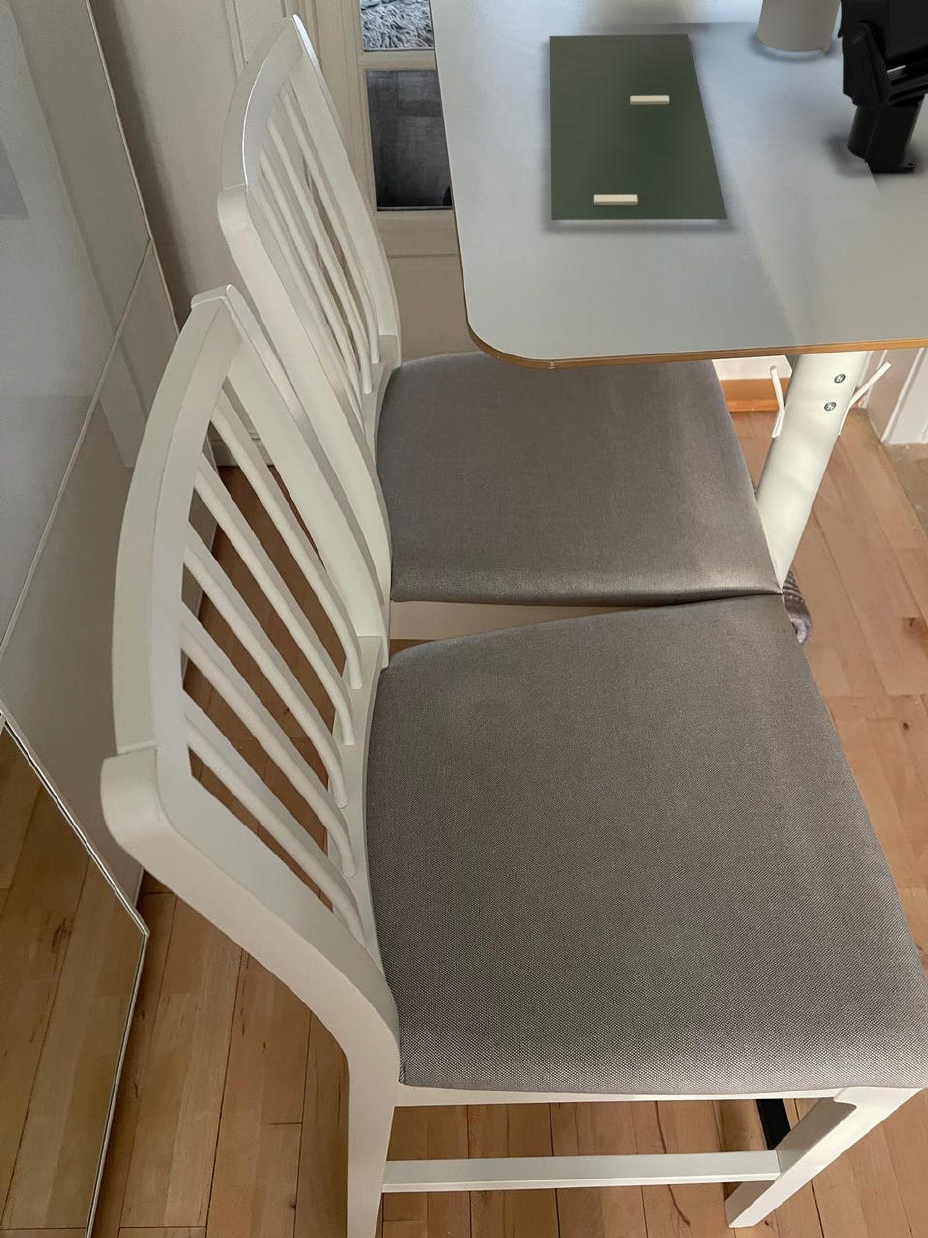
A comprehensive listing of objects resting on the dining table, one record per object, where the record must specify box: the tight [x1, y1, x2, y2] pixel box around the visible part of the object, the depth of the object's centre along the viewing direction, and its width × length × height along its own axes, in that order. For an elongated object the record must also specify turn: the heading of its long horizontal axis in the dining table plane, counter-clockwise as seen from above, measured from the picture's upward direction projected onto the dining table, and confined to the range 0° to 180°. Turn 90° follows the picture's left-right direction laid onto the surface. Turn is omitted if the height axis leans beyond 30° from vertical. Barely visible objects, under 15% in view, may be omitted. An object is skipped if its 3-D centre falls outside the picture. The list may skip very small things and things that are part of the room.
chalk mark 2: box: [630, 96, 669, 105], centre depth 104 cm, size 1×4×1 cm, turn 88°
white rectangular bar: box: [594, 195, 638, 205], centre depth 92 cm, size 1×4×1 cm, turn 87°
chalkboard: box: [548, 33, 728, 221], centre depth 103 cm, size 40×16×1 cm, turn 177°
